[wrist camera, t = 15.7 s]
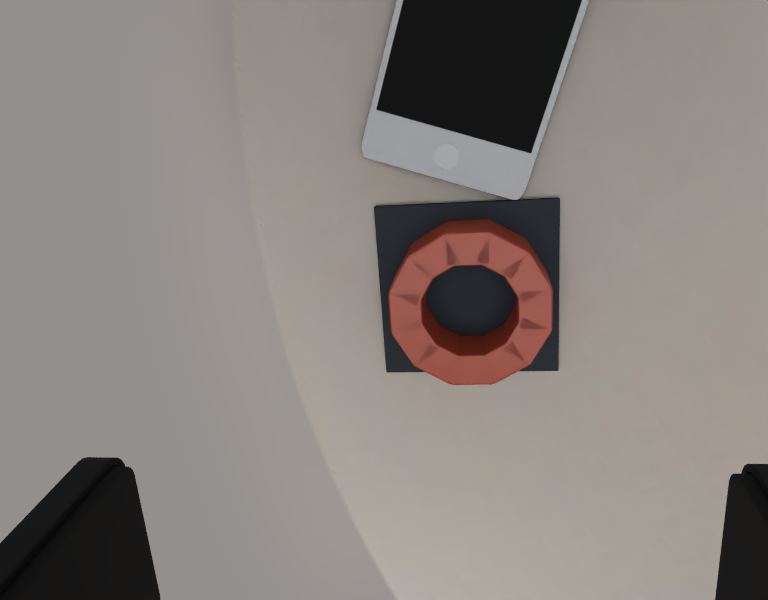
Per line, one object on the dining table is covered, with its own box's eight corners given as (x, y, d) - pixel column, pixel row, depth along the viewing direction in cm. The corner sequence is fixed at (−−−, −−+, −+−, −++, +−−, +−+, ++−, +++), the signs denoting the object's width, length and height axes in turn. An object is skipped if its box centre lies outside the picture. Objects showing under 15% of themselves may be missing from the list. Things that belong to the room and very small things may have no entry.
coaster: (387, 369, 33) (386, 372, 33) (375, 205, 31) (374, 207, 31) (557, 368, 32) (558, 370, 32) (559, 197, 30) (559, 198, 30)
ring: (400, 363, 33) (394, 385, 31) (390, 222, 31) (383, 235, 29) (547, 361, 32) (552, 384, 30) (547, 216, 30) (552, 229, 28)
